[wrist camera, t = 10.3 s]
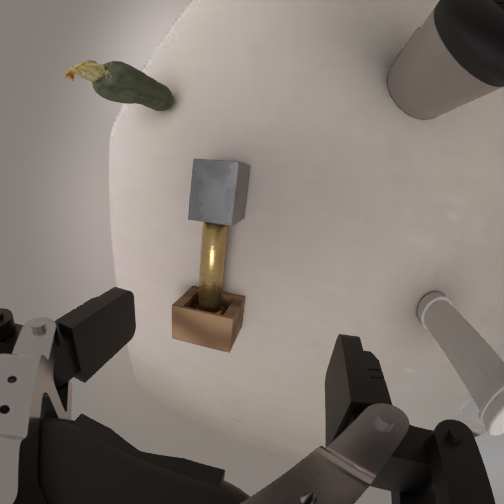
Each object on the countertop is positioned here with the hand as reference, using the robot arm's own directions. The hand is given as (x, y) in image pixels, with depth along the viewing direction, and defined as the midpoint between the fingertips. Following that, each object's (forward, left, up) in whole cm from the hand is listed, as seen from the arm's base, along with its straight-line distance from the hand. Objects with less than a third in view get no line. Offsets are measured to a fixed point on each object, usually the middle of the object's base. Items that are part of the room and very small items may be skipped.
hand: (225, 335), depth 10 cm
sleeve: (-3, -8, -28) cm, 29 cm away
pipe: (+8, +24, -28) cm, 38 cm away
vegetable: (-15, -18, -28) cm, 37 cm away
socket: (+14, -8, -28) cm, 32 cm away
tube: (+5, -8, -26) cm, 28 cm away
